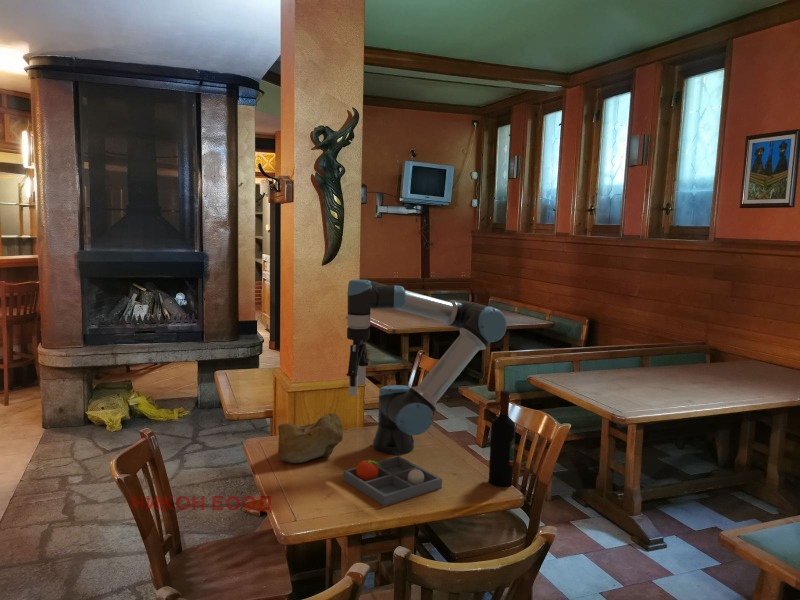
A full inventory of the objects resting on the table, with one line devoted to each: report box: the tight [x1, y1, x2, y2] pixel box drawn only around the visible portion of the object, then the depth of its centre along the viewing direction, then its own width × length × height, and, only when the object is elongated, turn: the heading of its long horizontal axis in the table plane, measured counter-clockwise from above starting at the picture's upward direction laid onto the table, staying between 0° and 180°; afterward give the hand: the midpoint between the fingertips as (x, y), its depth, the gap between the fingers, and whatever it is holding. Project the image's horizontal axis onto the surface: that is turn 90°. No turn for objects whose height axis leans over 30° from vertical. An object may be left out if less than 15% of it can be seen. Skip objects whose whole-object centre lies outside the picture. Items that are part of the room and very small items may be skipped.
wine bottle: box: [488, 390, 516, 488], centre depth 191 cm, size 8×8×30 cm
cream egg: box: [408, 469, 424, 485], centre depth 186 cm, size 5×5×5 cm
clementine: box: [356, 459, 382, 481], centre depth 187 cm, size 8×7×7 cm
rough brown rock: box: [277, 412, 344, 464], centre depth 211 cm, size 23×17×15 cm
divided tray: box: [342, 455, 443, 507], centre depth 187 cm, size 22×22×4 cm
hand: (357, 390), depth 198 cm, fingers open, 13 cm apart
